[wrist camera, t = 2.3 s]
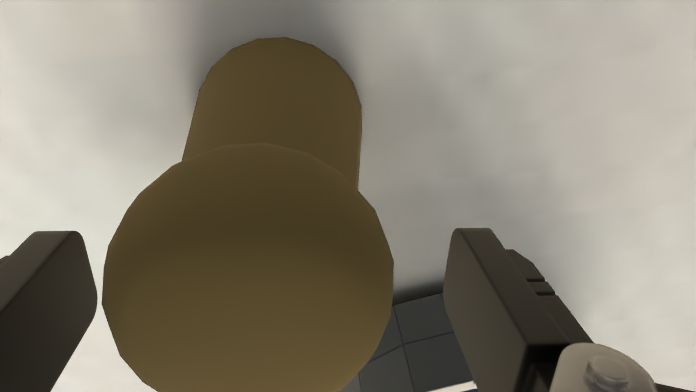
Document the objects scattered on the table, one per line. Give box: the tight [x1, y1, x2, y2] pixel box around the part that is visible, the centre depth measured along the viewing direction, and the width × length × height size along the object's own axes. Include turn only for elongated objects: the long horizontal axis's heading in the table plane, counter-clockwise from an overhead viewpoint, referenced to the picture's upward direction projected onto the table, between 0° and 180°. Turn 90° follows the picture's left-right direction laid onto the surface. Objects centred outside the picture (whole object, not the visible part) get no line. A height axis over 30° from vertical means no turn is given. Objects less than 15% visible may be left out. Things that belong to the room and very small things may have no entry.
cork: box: [102, 38, 394, 392], centre depth 12 cm, size 6×6×11 cm
